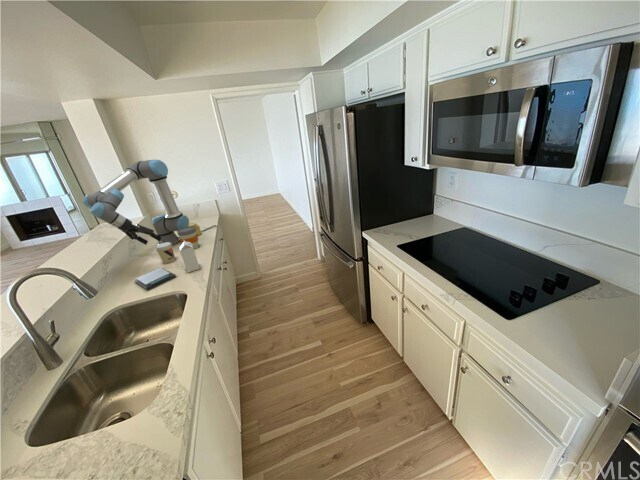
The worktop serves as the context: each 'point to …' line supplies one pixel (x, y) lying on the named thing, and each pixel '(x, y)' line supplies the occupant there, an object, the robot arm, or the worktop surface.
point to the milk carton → (189, 256)
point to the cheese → (196, 228)
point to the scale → (154, 278)
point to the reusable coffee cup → (189, 235)
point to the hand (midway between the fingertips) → (153, 241)
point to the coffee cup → (165, 252)
